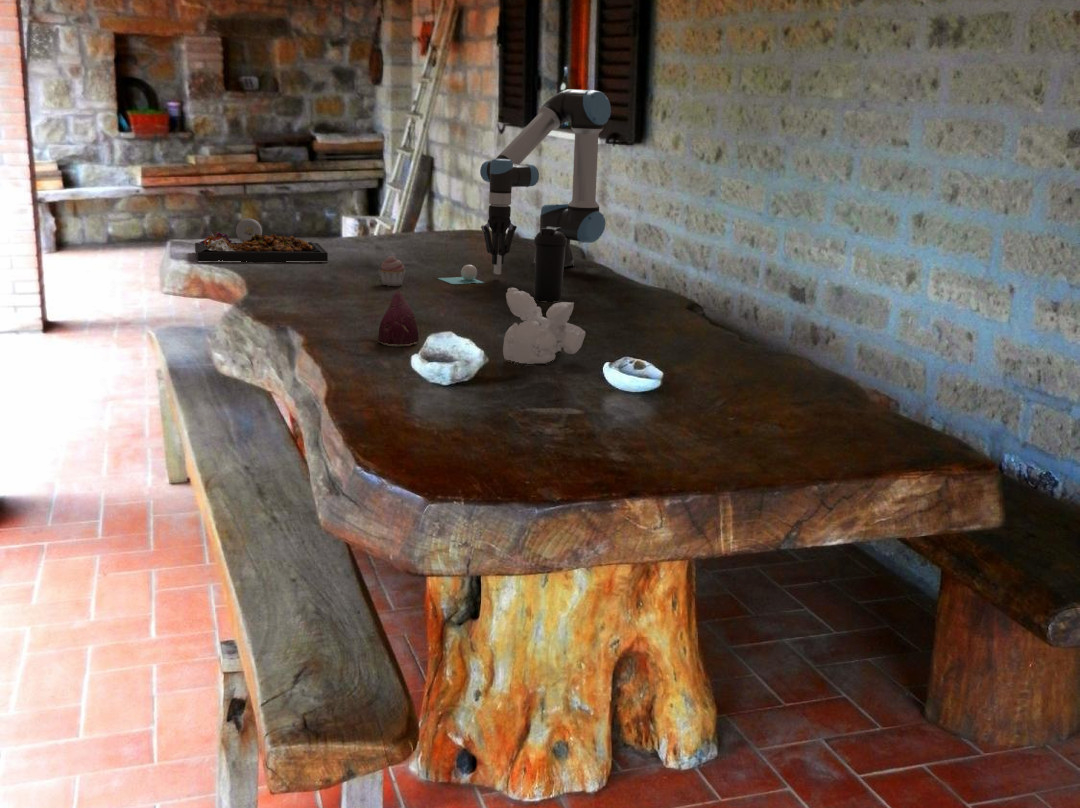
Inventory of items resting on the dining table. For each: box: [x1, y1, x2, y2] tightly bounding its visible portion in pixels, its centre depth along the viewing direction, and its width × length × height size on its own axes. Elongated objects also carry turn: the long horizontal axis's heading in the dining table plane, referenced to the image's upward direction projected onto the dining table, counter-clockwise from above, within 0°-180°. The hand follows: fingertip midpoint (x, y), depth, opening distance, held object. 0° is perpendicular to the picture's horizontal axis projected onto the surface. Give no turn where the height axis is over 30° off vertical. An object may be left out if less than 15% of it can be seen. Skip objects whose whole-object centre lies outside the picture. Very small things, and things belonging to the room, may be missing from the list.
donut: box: [235, 218, 263, 243], centre depth 449 cm, size 10×4×10 cm, turn 104°
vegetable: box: [377, 289, 420, 345], centre depth 293 cm, size 10×10×15 cm
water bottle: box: [533, 227, 567, 302], centre depth 360 cm, size 10×10×23 cm
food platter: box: [194, 227, 329, 262], centre depth 417 cm, size 45×25×10 cm, turn 108°
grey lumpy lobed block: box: [502, 286, 586, 364], centre depth 283 cm, size 19×20×20 cm
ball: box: [460, 264, 478, 281], centre depth 391 cm, size 6×6×6 cm
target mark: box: [436, 276, 485, 286], centre depth 390 cm, size 12×12×1 cm
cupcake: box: [378, 254, 407, 287], centre depth 375 cm, size 9×9×10 cm
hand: (497, 273), depth 397 cm, fingers closed
